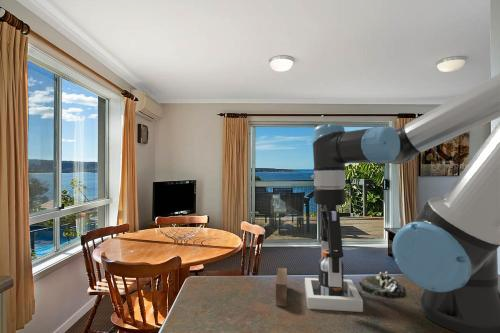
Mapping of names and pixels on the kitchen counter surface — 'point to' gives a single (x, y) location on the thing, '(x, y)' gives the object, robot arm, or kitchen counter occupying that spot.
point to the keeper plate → (333, 297)
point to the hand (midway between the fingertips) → (330, 275)
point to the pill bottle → (324, 281)
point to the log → (382, 286)
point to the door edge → (281, 287)
